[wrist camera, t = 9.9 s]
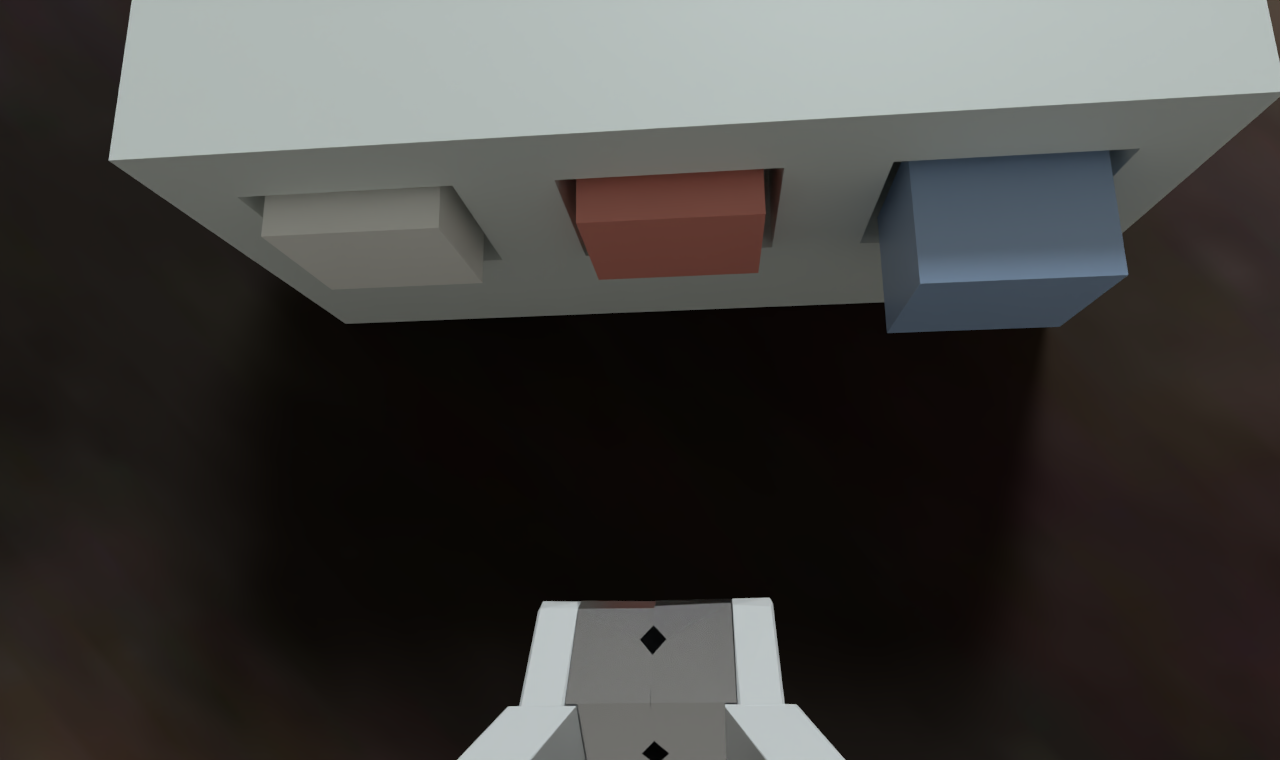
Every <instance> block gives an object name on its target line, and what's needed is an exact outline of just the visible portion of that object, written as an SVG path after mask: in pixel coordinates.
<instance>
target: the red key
mask: <svg viewBox="0 0 1280 760" xmlns="http://www.w3.org/2000/svg"><path fill="white" fill-rule="evenodd" d="M765 216H766V209H765V189H764V169H752V170H733V171H715V172H696V173H678V174H659V175H641V176H622V177H604V178H585V179H576V224H577V227H578V229H579V232H580V234H581V237H582V239H583V242H584V244H585V247H586V249H587V252H588V254H589V257H590V259H591V262H592V264H593V267H594V269H595V272H596V274H597V277H598V279H599V280H609V279H632V278H655V277H678V276H701V275H724V274H747V273H758V272H759V264H760V256H761V248H762V240H763V232H764V224H765Z"/></svg>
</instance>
